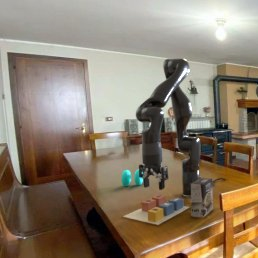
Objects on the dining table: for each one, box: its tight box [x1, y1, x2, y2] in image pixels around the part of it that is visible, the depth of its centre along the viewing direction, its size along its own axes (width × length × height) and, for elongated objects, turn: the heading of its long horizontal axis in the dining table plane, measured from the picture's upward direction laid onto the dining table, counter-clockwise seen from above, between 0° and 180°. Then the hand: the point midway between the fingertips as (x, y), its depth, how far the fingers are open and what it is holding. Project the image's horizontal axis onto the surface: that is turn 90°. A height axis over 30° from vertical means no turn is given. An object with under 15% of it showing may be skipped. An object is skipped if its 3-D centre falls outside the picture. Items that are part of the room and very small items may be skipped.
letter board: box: [122, 205, 190, 226], centre depth 116 cm, size 19×21×1 cm
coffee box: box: [190, 177, 214, 218], centre depth 115 cm, size 9×6×16 cm
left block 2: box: [151, 194, 167, 207], centre depth 123 cm, size 4×4×4 cm
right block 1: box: [159, 201, 174, 216], centre depth 114 cm, size 4×4×4 cm
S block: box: [148, 207, 164, 222], centre depth 108 cm, size 4×4×4 cm
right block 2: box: [168, 197, 184, 211], centre depth 120 cm, size 4×4×4 cm
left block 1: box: [140, 198, 156, 212], centre depth 118 cm, size 4×4×4 cm
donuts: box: [121, 168, 143, 187], centre depth 152 cm, size 10×10×10 cm
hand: (154, 188), depth 108 cm, fingers open, 8 cm apart
